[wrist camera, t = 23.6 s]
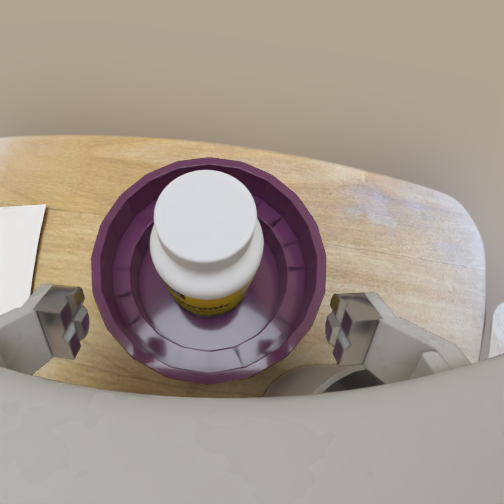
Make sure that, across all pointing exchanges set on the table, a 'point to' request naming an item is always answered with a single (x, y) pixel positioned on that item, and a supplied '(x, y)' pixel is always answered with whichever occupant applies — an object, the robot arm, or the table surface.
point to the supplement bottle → (206, 241)
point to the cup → (322, 380)
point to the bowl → (221, 327)
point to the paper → (18, 253)
